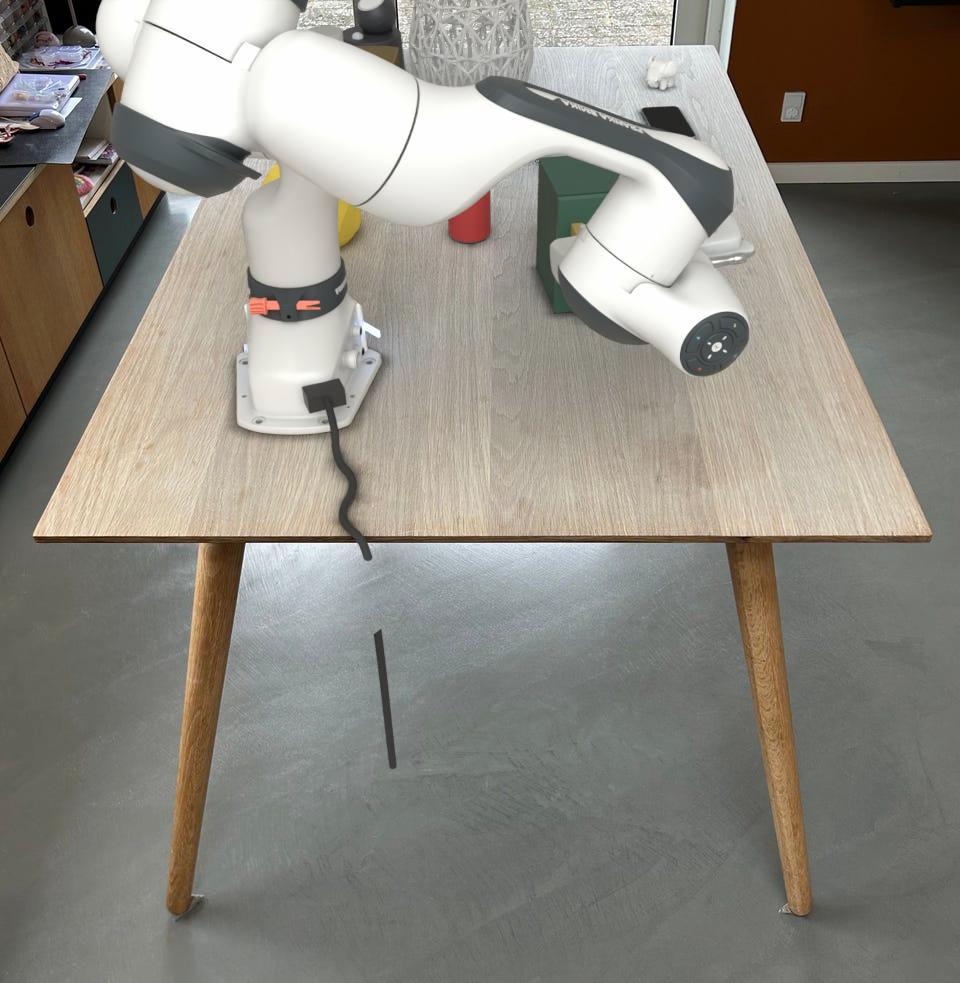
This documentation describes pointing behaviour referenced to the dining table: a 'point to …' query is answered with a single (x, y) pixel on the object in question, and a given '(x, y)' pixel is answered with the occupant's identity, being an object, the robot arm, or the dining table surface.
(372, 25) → the light fixture
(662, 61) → the elephant figurine
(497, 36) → the vase
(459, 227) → the beer can
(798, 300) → the dining table surface
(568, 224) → the door
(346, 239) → the teapot
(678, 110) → the smartphone
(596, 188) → the cupboard
